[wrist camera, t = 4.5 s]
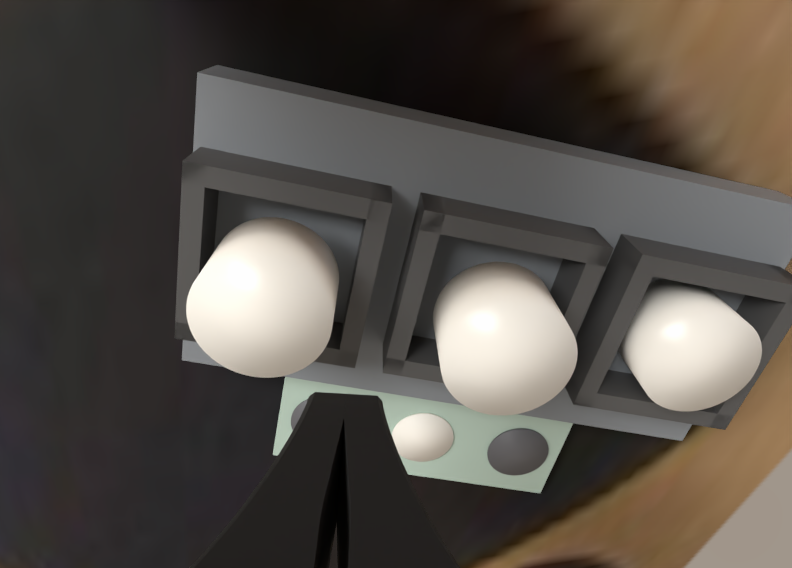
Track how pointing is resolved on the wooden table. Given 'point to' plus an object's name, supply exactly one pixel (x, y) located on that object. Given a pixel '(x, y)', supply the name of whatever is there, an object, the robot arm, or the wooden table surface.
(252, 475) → the wooden table surface
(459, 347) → the button middle
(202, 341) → the button near
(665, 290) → the button far
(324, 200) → the board
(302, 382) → the card
